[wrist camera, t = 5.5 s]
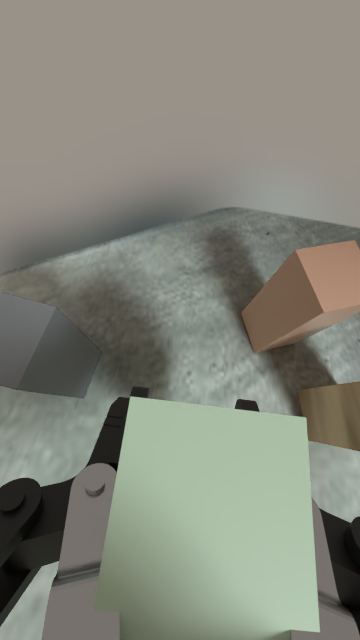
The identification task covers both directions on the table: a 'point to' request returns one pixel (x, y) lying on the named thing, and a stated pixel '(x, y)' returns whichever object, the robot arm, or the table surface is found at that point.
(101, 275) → the table surface
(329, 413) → the oak block
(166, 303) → the table surface
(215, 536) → the green block
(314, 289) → the terracotta block
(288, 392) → the table surface
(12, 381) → the charcoal block
